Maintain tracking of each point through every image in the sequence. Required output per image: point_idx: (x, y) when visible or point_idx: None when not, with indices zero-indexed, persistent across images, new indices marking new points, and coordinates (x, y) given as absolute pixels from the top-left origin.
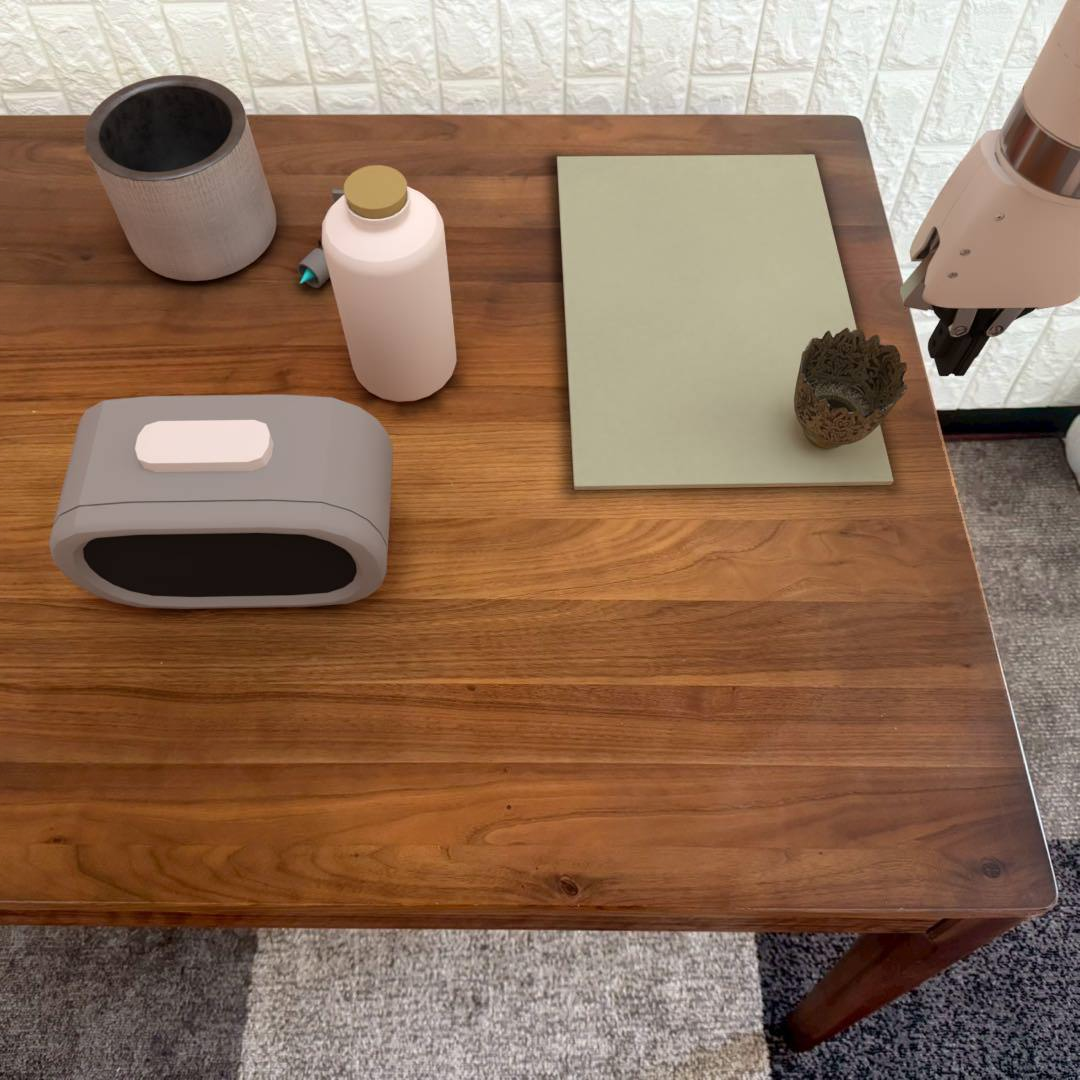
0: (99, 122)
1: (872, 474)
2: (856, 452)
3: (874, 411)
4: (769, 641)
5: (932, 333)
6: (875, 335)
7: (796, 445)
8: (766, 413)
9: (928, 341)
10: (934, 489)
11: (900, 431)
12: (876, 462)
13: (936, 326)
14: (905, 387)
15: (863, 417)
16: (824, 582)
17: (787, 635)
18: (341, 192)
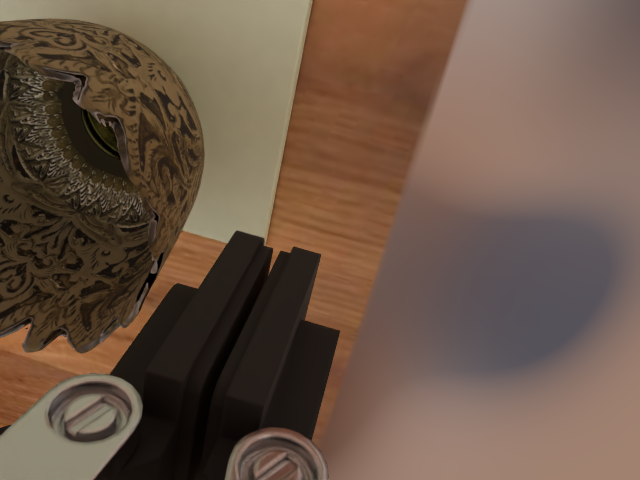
0: None
1: (223, 227)
2: (205, 170)
3: (41, 334)
4: (5, 396)
5: (155, 310)
6: (79, 103)
7: None
8: (22, 5)
9: (176, 284)
10: (349, 278)
11: (343, 131)
12: (241, 205)
13: (137, 336)
14: (126, 319)
15: (24, 323)
16: (96, 355)
17: (30, 398)
18: None
